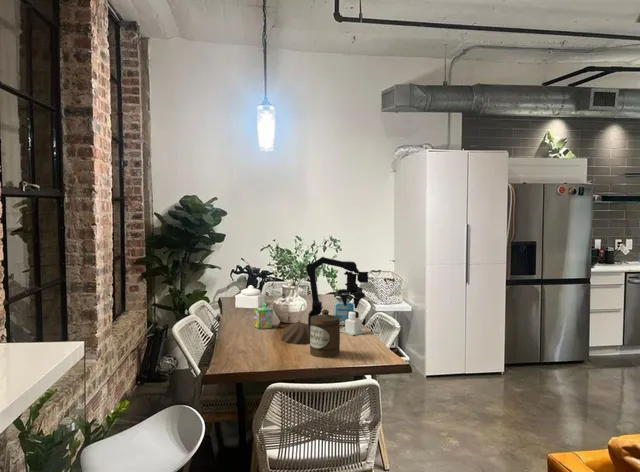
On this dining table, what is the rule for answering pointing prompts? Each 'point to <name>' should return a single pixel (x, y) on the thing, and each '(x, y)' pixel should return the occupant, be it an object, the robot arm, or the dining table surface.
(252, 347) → the dining table surface
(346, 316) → the data package
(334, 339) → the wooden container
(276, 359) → the dining table surface
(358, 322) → the medicine bottle
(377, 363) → the dining table surface
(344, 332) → the tray
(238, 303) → the butter dish
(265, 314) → the chalk box
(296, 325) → the decorative dome
